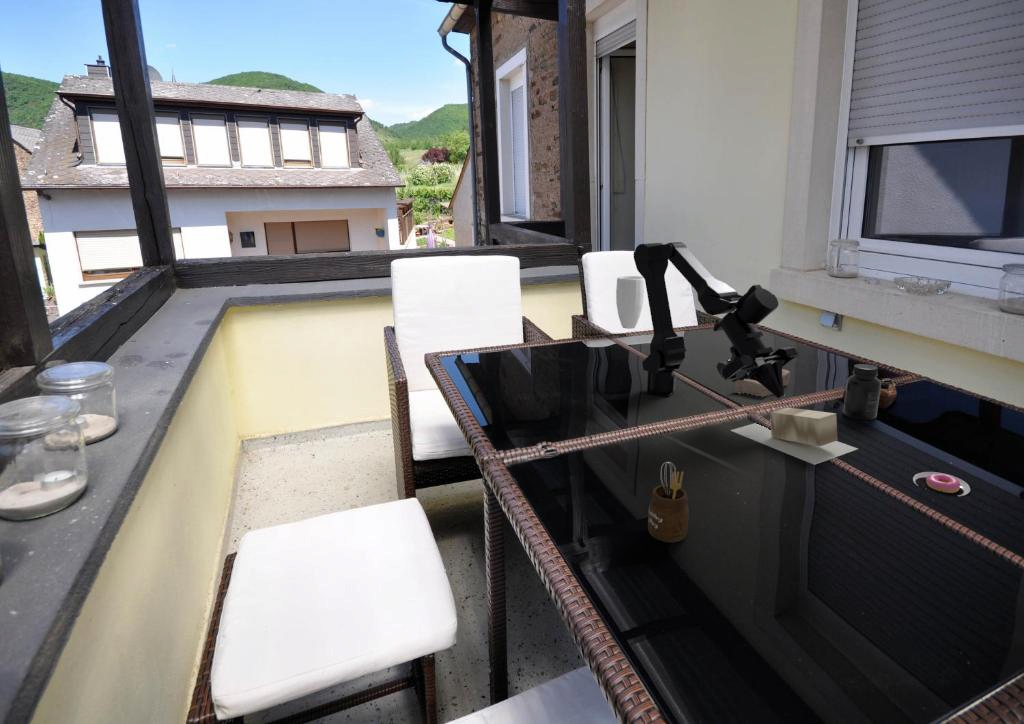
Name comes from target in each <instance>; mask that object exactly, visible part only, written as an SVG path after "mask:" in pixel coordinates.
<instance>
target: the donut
mask: <svg viewBox="0 0 1024 724" xmlns="http://www.w3.org/2000/svg"><path fill="white" fill-rule="evenodd" d="M920 478H926V479H925V480H926V481H925V482H926V484H927V486H928V487H929V488H930V489H933V490H935V491H937V492H941V491H942V493H949V494H954V493H957V492H958V491H959V490H960V489H962V490H963V493H962V494H959V495H958V497H963V496H966V495H968V494H969V493H970V492H971V488H970V485H969V483H967V482H966V481H964V480H963V479H961V478H958V477H957V476H954V475H952V474H947V473H943V472H938V471H937V472H935V471H924V472H923V471H922V472H919V473H918V472H917V473H916V474H914V476H913V477H912V482H913V483H914V484H915V485H916V486H918V484H917V482H916V480H918V479H920Z"/></svg>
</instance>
